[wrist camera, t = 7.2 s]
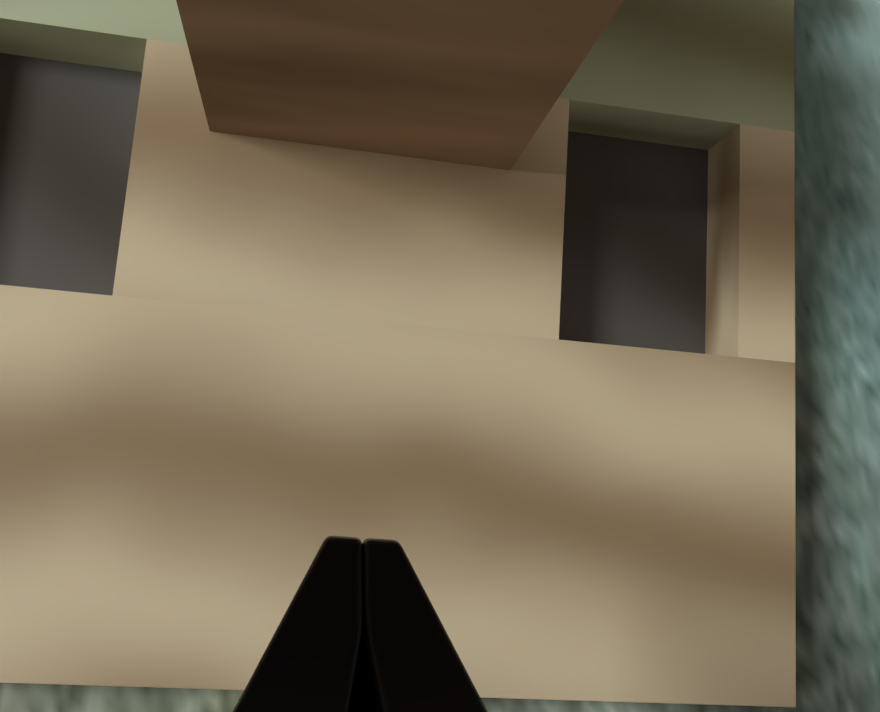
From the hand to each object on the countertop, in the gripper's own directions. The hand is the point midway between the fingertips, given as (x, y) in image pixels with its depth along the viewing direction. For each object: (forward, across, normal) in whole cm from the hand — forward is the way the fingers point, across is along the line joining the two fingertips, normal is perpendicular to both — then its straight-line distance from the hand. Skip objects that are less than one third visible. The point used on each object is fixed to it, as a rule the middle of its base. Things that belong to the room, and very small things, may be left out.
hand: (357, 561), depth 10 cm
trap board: (+12, 0, +3) cm, 13 cm away
